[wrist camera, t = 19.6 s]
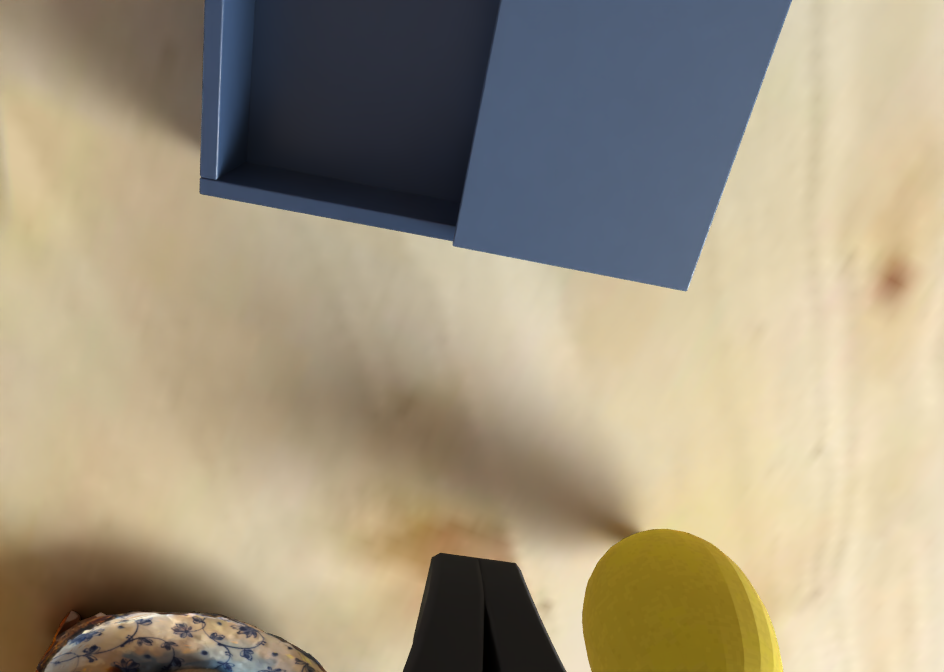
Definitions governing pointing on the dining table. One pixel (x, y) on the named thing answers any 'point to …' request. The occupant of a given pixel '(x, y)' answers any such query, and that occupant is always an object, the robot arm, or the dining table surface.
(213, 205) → the dining table surface
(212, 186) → the carton
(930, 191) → the dining table surface
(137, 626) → the burger
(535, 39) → the flap
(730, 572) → the lemon
